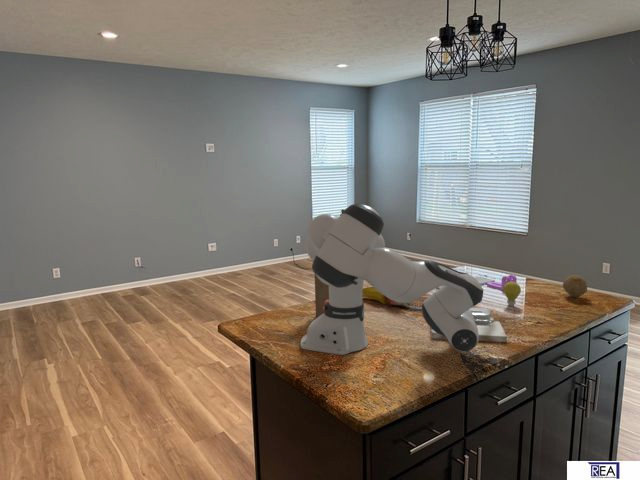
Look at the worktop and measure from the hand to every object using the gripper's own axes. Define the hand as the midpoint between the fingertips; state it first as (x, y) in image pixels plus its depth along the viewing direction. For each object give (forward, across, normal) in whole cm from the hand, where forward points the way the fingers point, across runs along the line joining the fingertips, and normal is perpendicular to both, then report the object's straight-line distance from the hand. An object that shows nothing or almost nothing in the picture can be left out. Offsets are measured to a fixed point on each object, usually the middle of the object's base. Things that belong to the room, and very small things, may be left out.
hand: (456, 307), depth 152 cm
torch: (+35, +26, +11) cm, 45 cm away
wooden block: (+15, +46, +10) cm, 50 cm away
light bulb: (+37, -25, +10) cm, 46 cm away
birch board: (+4, -4, +10) cm, 12 cm away
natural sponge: (+53, -53, +10) cm, 75 cm away
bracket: (+64, -25, +10) cm, 70 cm away
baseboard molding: (+68, -8, +11) cm, 69 cm away
